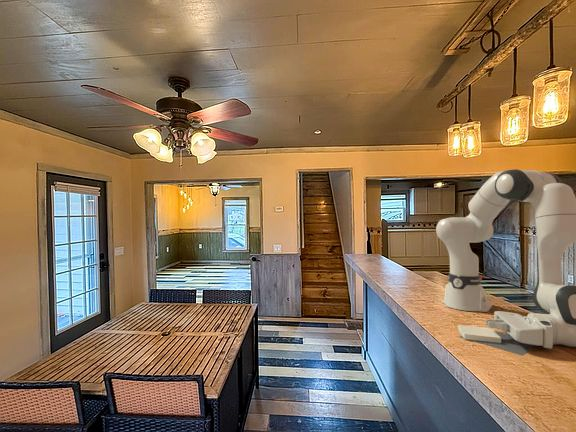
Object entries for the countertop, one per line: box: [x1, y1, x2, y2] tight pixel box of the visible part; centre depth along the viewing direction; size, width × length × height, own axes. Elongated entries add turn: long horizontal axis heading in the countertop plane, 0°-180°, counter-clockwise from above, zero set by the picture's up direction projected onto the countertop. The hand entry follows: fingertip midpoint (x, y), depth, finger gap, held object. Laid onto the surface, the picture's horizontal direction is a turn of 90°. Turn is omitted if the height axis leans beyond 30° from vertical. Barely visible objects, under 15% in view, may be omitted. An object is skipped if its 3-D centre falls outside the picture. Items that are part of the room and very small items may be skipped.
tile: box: [457, 324, 501, 344], centre depth 103 cm, size 2×9×10 cm
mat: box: [459, 330, 537, 356], centre depth 101 cm, size 16×17×1 cm
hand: (487, 323), depth 103 cm, fingers closed
